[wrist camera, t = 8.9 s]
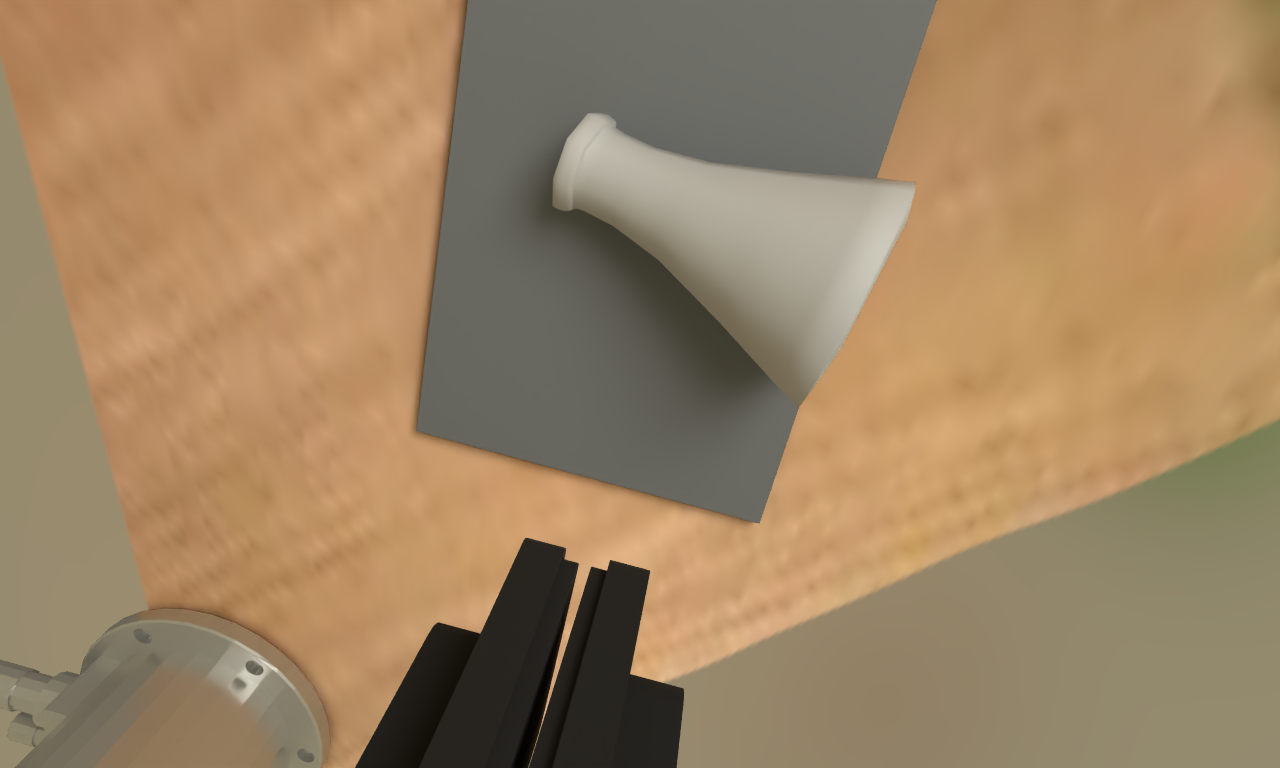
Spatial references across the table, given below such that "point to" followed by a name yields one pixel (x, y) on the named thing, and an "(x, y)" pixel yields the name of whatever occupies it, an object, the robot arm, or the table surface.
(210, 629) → the robot arm
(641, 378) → the mat
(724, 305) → the flask
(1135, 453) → the table surface
